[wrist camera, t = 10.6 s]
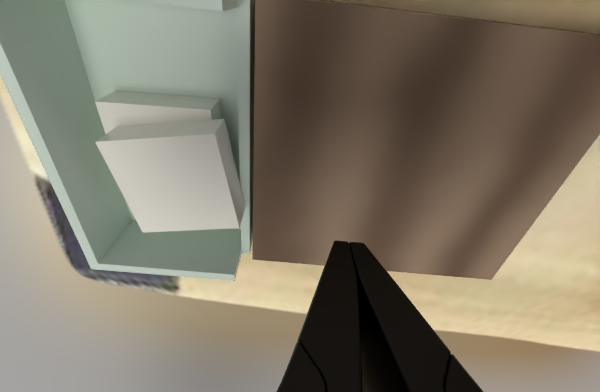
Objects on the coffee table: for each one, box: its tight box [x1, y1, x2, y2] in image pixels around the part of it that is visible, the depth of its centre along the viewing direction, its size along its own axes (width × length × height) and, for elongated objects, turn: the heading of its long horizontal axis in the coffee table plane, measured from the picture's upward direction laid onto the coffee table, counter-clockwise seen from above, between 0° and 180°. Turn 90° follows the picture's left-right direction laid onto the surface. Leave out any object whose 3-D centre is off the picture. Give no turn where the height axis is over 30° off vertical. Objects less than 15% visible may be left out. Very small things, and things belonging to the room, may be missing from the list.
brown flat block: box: [253, 0, 600, 280], centre depth 18 cm, size 18×16×3 cm
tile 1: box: [95, 91, 222, 134], centre depth 18 cm, size 6×6×2 cm
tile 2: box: [95, 119, 245, 232], centre depth 17 cm, size 6×6×2 cm
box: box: [0, 0, 255, 281], centre depth 17 cm, size 10×16×5 cm, turn 174°
